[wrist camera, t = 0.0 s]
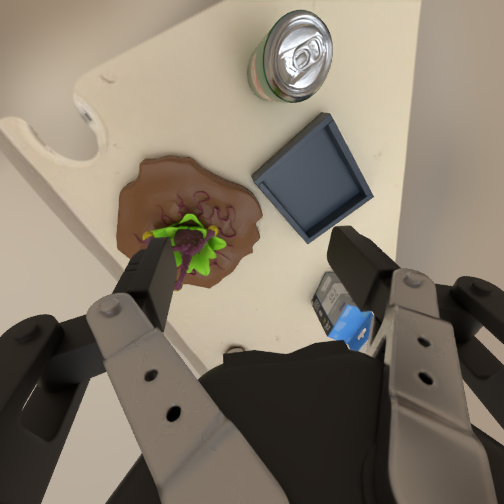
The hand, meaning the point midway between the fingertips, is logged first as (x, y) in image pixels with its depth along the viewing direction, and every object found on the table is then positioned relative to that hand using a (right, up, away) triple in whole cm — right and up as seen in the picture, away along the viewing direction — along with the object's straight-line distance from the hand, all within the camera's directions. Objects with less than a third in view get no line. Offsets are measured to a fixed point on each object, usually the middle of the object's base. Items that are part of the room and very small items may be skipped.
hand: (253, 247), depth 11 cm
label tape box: (+15, -8, +35) cm, 39 cm away
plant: (-10, +3, +24) cm, 26 cm away
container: (+9, +10, +22) cm, 25 cm away
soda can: (+2, +20, +14) cm, 24 cm away
